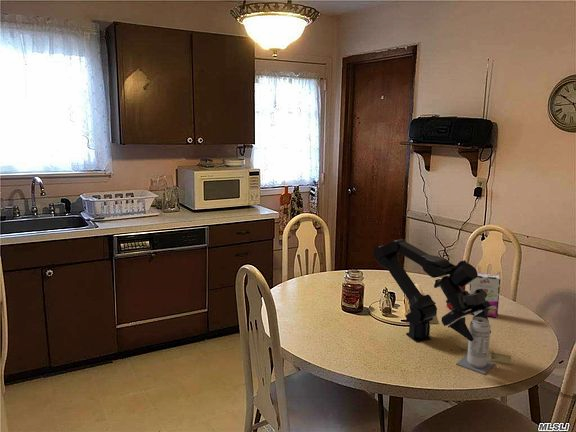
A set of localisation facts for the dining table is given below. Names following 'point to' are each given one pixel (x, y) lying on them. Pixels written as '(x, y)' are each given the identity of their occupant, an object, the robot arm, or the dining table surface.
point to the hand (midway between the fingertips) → (481, 337)
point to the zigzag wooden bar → (491, 354)
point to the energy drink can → (479, 342)
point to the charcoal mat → (484, 370)
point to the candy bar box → (488, 290)
